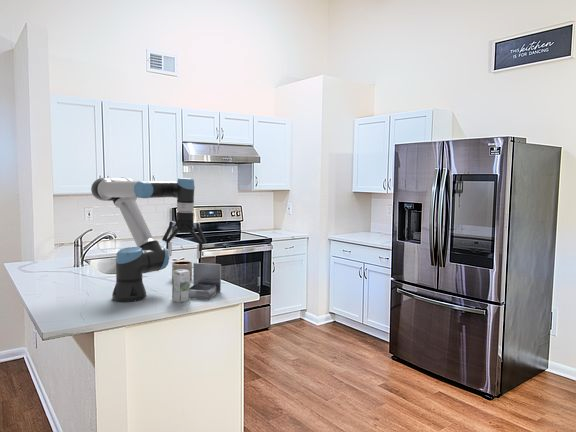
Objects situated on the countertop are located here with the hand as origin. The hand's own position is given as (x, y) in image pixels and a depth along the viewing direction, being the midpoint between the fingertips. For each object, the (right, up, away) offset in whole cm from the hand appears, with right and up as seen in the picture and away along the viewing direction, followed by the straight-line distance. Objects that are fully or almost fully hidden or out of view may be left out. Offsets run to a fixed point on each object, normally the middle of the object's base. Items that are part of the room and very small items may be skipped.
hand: (184, 257), depth 212 cm
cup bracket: (+6, -20, +13) cm, 24 cm away
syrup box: (-2, -21, +1) cm, 21 cm away
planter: (-11, -17, +43) cm, 47 cm away
